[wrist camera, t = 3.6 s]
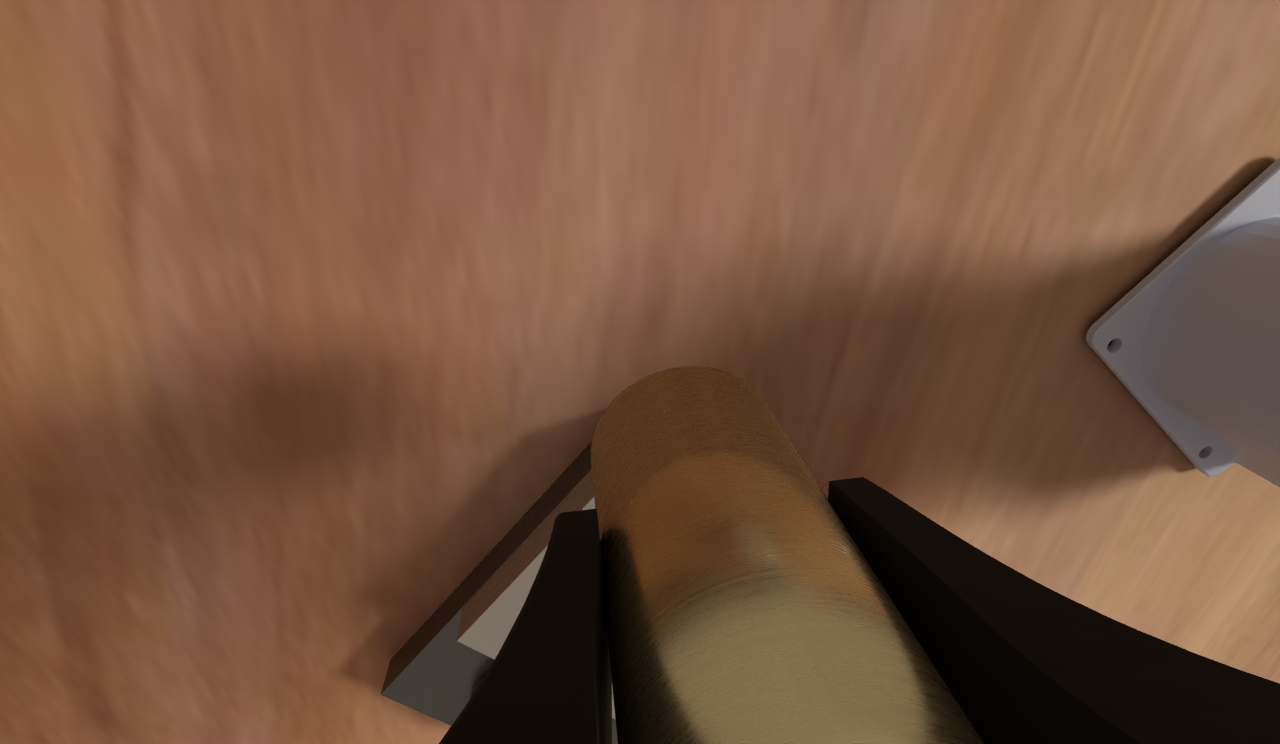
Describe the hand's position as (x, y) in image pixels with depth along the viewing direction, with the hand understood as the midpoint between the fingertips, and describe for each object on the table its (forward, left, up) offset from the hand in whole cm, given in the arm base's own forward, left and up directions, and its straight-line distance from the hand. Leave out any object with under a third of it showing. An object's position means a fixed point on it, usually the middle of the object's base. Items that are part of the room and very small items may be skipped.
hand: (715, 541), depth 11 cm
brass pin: (0, 0, -3) cm, 3 cm away
